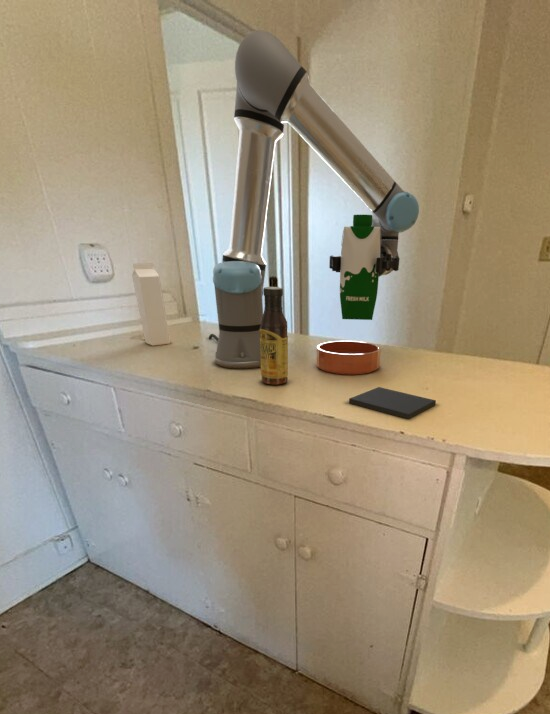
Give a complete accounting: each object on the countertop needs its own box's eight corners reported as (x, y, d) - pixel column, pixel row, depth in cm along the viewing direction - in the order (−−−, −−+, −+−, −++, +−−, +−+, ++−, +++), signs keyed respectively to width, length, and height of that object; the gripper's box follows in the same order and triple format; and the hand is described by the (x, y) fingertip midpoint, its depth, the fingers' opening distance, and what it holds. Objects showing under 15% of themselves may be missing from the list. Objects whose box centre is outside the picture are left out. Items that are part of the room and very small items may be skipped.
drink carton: (338, 320, 98) (341, 214, 87) (339, 314, 105) (342, 216, 95) (376, 320, 97) (384, 214, 87) (374, 315, 105) (382, 216, 94)
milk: (145, 342, 136) (129, 263, 124) (163, 340, 139) (149, 262, 127) (152, 346, 132) (136, 263, 120) (171, 343, 135) (157, 263, 123)
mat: (348, 403, 88) (349, 398, 87) (378, 391, 95) (378, 386, 94) (408, 419, 80) (408, 414, 80) (435, 405, 87) (436, 400, 87)
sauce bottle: (256, 382, 100) (249, 287, 89) (275, 377, 104) (271, 285, 93) (274, 388, 96) (270, 289, 85) (294, 382, 100) (292, 287, 89)
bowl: (304, 367, 112) (303, 347, 109) (342, 356, 122) (342, 338, 120) (354, 379, 103) (355, 357, 100) (390, 366, 114) (392, 346, 111)
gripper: (416, 278, 109) (404, 286, 91) (335, 275, 115) (308, 282, 97) (420, 244, 105) (408, 245, 87) (335, 243, 111) (308, 243, 93)
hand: (355, 264), depth 92 cm, fingers closed on drink carton, 9 cm apart
